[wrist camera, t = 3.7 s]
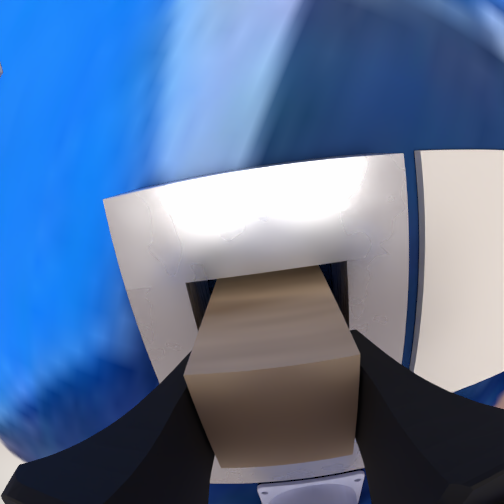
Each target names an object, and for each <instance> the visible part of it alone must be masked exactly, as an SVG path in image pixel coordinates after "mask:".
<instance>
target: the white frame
mask: <svg viewBox="0 0 504 504" xmlns="http://www.w3.org/2000/svg"><path fill="white" fill-rule="evenodd" d="M103 202H104V207H105V211H106V216H107V220H108V225H109V229H110V233H111V237H112V241H113V245H114V249H115V253H116V256H117V260H118V264H119V267H120V271H121V274H122V278H123V281H124V284H125V288H126V291H127V294H128V297H129V301H130V304H131V307H132V310H133V313H134V316H135V319H136V322H137V325H138V328H139V331H140V333H141V336H142V339H143V342H144V344H145V347H146V350H147V353H148V355H149V358H150V360H151V363H152V365H153V368H154V371H155V373H156V375H157V378H158V380H159V383H161V382H162V381H163V380H164V379H165V378H166V377H167V376H168V375H169V374H170V373H171V372H172V371H173V370H174V368H175V367H176V366H177V365H178V364H179V363H180V362H181V361H182V360H183V359H184V358H185V357H186V356H187V355H188V354H189V353H190V352H191V351H192V348H193V346H194V343H195V340H196V337H197V334H198V331H199V328H200V326H201V323H202V320H203V317H204V314H205V311H206V309H207V306H208V303H209V300H210V297H211V296H210V292H209V287H208V283H207V280H212V279H220V278H227V277H235V276H242V275H250V274H257V273H264V272H272V271H279V270H286V269H293V268H300V267H307V266H314V265H321V264H327V263H331V269H332V284H333V296H334V298H335V300H336V302H337V304H338V306H339V309H340V311H341V313H342V315H343V317H344V319H345V321H346V324H347V326H348V328H349V330H355V329H356V330H358V331H359V332H360V333H361V334H363V335H364V336H365V337H366V338H367V339H369V340H370V341H371V342H372V343H374V344H375V345H376V346H377V347H379V348H380V349H381V350H382V351H384V352H385V353H386V354H387V355H389V356H390V357H392V358H393V359H394V360H396V361H397V362H398V363H400V364H402V356H403V347H404V338H405V327H406V315H407V299H408V275H409V227H408V203H407V187H406V175H405V164H404V155H403V153H369V154H356V155H345V156H335V157H325V158H316V159H307V160H299V161H291V162H284V163H276V164H269V165H262V166H256V167H249V168H243V169H237V170H231V171H225V172H219V173H213V174H208V175H202V176H197V177H192V178H187V179H182V180H177V181H172V182H167V183H163V184H158V185H153V186H149V187H144V188H140V189H136V190H132V191H129V192H126V193H122V194H119V195H116V196H113V197H110V198H106V199H103ZM361 468H365V466H364V463H363V459H362V456H361V453H360V450H359V448H358V445H357V442H356V439H355V440H354V449H353V454H352V455H347V456H342V457H337V458H331V459H325V460H319V461H312V462H305V463H297V464H288V465H278V466H265V467H249V468H221V467H220V465H219V463H218V460H217V458H216V456H215V457H214V462H213V467H212V471H211V477H210V483H259V482H274V481H285V480H295V479H303V478H311V477H318V476H324V475H330V474H336V473H341V472H347V471H351V470H356V469H361Z"/></svg>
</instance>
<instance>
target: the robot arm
mask: <svg viewBox="0 0 504 504" xmlns="http://www.w3.org/2000/svg"><path fill="white" fill-rule="evenodd" d="M350 332H351V334H352V337H353V339H354V341H355V343H356V346H357V348H358V350H359V352H360V377H359V394H358V408H357V420H356V431H355V439H356V442H357V445H358V448H359V450H360V453H361V456H362V459H363V463H364V466H365V470H366V475H367V480H368V485H369V490H370V496H371V501H372V504H504V409H500V408H497V407H493V406H489V405H485V404H482V403H478V402H475V401H472V400H470V399H467V398H464V397H462V396H459V395H456V394H454V393H452V392H449V391H447V390H445V389H443V388H441V387H439V386H437V385H435V384H433V383H431V382H429V381H427V380H425V379H424V378H422V377H420V376H418V375H417V374H415V373H414V372H412V371H410V370H409V369H407V368H406V367H404V366H403V365H401V364H400V363H398V362H397V361H396V360H394V359H393V358H392V357H390V356H389V355H387V354H386V353H385V352H384V351H382V350H381V349H380V348H379V347H377V346H376V345H375V344H374V343H372V342H371V341H370V340H369V339H367V338H366V337H365V336H364V335H363V334H361V333H360V332H359V331H358V330H356V329H355V330H350ZM190 354H191V352H190V353H189V354H188V355H187V356H186V357H185V358H184V359H183V360H182V361H181V362H180V363H179V364H178V365H177V366H176V367H175V368H174V370H173V371H172V372H171V373H170V374H169V375H168V376H167V377H166V378H165V379H164V380H163V381H162V382H161V383H160V384H159V385H158V386H157V387H156V388H155V389H154V390H153V391H152V392H151V393H149V394H148V395H147V396H146V397H145V398H144V399H143V400H142V401H141V402H140V403H139V404H137V405H136V406H135V407H134V408H133V409H131V410H130V411H129V412H128V413H126V414H125V415H124V416H122V417H121V418H120V419H118V420H117V421H115V422H114V423H113V424H111V425H110V426H108V427H107V428H105V429H103V430H102V431H100V432H98V433H96V434H95V435H93V436H91V437H90V438H88V439H86V440H84V441H82V442H80V443H78V444H76V445H74V446H72V447H70V448H68V449H65V450H63V451H61V452H58V453H56V454H53V455H50V456H48V457H44V458H41V459H38V460H35V461H31V462H28V463H24V464H20V465H19V466H18V468H17V469H16V471H15V472H14V474H13V476H12V478H11V479H10V481H9V483H8V484H7V486H6V488H5V490H4V491H3V493H2V495H1V497H2V500H3V501H4V503H5V504H208V497H209V484H210V477H211V471H212V467H213V462H214V457H215V454H214V451H213V449H212V447H211V444H210V442H209V440H208V437H207V435H206V433H205V430H204V428H203V425H202V423H201V420H200V418H199V415H198V413H197V410H196V408H195V405H194V402H193V400H192V397H191V395H190V392H189V389H188V386H187V384H186V381H185V378H184V372H185V369H186V366H187V363H188V360H189V357H190ZM364 476H365V475H364V471H361V470H359V471H354V472H349V473H344V474H339V475H333V476H328V477H321V478H315V479H308V480H300V481H291V482H281V483H268V484H260V485H258V486H257V491H258V494H259V496H260V499H261V502H262V504H358V501H359V497H360V493H361V489H362V485H363V481H364Z"/></svg>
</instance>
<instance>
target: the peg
mask: <svg viewBox="0 0 504 504" xmlns="http://www.w3.org/2000/svg"><path fill="white" fill-rule="evenodd" d="M359 377H360V352H359V350H358V348H357V346H356V343H355V341H354V339H353V337H352V334H351V332H350V330H349V328H348V326H347V324H346V321H345V319H344V317H343V315H342V313H341V311H340V309H339V306H338V304H337V302H336V300H335V298H334V296H333V294H332V292H331V290H330V288H329V286H328V283H327V281H326V279H325V277H324V275H323V273H322V271H321V269H320V267H319V265H314V266H307V267H300V268H293V269H286V270H279V271H272V272H264V273H257V274H250V275H242V276H235V277H227V278H220V279H217V281H216V283H215V286H214V289H213V292H212V295H211V297H210V300H209V303H208V306H207V309H206V311H205V314H204V317H203V320H202V323H201V326H200V328H199V331H198V334H197V337H196V340H195V343H194V346H193V348H192V351H191V354H190V357H189V360H188V363H187V366H186V369H185V372H184V378H185V381H186V384H187V386H188V389H189V392H190V395H191V397H192V400H193V402H194V405H195V408H196V410H197V413H198V415H199V418H200V420H201V423H202V425H203V428H204V430H205V433H206V435H207V437H208V440H209V442H210V444H211V447H212V449H213V451H214V454H215V456H216V458H217V460H218V463H219V465H220V467H221V468H249V467H265V466H278V465H288V464H297V463H305V462H312V461H319V460H325V459H331V458H337V457H342V456H347V455H352V454H353V449H354V440H355V431H356V420H357V408H358V394H359Z"/></svg>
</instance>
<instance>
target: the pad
mask: <svg viewBox="0 0 504 504" xmlns="http://www.w3.org/2000/svg"><path fill="white" fill-rule="evenodd" d="M414 154H415V164H416V175H417V189H418V207H419V277H418V296H417V309H416V321H415V330H414V339H413V347H412V355H411V362H410V368H409V370H410V371H412V372H414V373H415V374H417V375H418V376H420V377H422V378H424V379H425V380H427V381H429V382H431V383H433V384H435V385H437V386H439V387H441V388H443V389H445V390H447V391H449V392H454V391H457V390H460V389H462V388H465V387H468V386H470V385H473V384H475V383H478V382H480V381H483V380H485V379H487V378H490V377H492V376H494V375H496V374H499V373H501V372H503V371H504V150H420V151H414Z"/></svg>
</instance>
